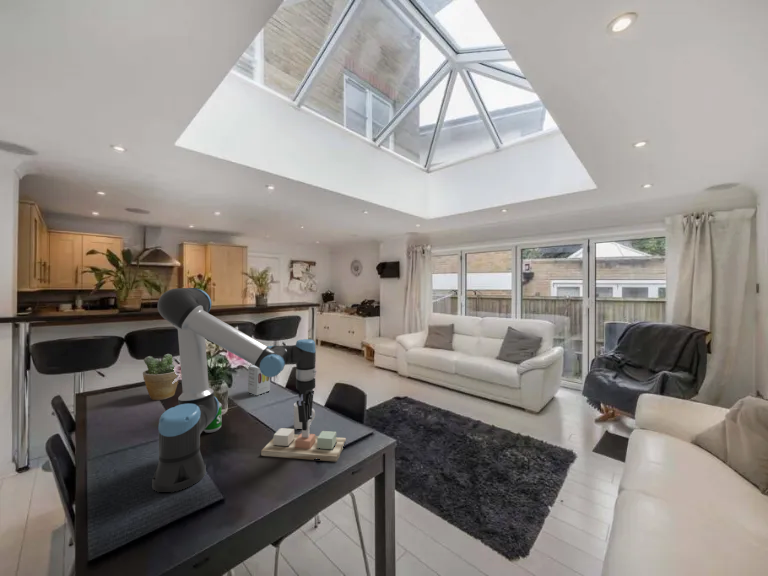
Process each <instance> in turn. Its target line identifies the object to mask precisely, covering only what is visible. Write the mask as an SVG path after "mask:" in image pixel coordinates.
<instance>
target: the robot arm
mask: <svg viewBox="0 0 768 576" xmlns="http://www.w3.org/2000/svg"><path fill="white" fill-rule="evenodd" d="M211 308H212V299H211V297H210V295H209V294H208V293H207V292H206V291H205V290H202V289H200V288H195V287H187V288H186V287H185V288H184V287H183V288H180V287H179V288H178V287H177V288H171V289H168V290H167V291H165V292H163V293H162V295H161V296H160V297H159V299H158V301H157V311H158V313H159V315H160V316H161V317H162V318H163V319H164V320H166V321H167V322H168V323H170V324H172V326H173V327H174V328H175V329H176V330H177V337H178V339H177V340H178V349H179V360H180V362H179V363H180V364H179V365H180V367H181V375H180V377H181V388H182V392H181V394H180V395H179V396H178V398H177V399H178V405H175V406H174V407H170V408H168V409H167V410H165V411H164V412H163V413H162V414H161V416H160V417H159V420H158V425H157V427H158V462H157V465H156V467H155V471H154V474H153V477H152V480H151V488H152V490H153V491H154V490H155V491H154V492H156V491H157V492H156V493H159V492H171V493H174V492H173V491H176V492H179V491H178V490H180V491H183V490H186V489H188V488H190V487H192V486H194V485H195V483H196V484H197V483H198V482H199V483H200V481H201V480H202V479H203V478H204V477H205V475H206V470H207V469H206V468H207V467H206V462H205V461H204V460H203V456H202V453H201V447H200V446H201V434H202V433H203V432H204V431H203V430H204V429H205V428H206V427H207V426H208V425H209V424H210V423H211V422H212V421H213V420H214V419H215V417H216V415H217V413H218V410H219V402H220V401H219V400H218V398H217V397H216V396H215V393H214V389H213V388H211V387H210V386H209V372H208V359H207V347H206V340H208V341H209V342H211V343H214V344H215V345H216V346H218V347H221V348H222V349H224V350H226V351H227V352H230V353H231V354H233V355H235V356H237V357H238V358H240V359H242V360H245V362H248V363H249V364H251V365H255V366H256V367H258V368H260V371H261V373H262V374H263V375H264V376H267V377H270V378H273V377H277V376H279V374H280V373H281V372H282V371H283V370H284V368H285V366H287V365H290V366H291V365H295V378H296V379H295V387H296V390H298V391H299V396H298V398H299V400H296V402H297V406H298V414H299V422H302V430H301V433H302V437H304V438H308V437H309V436H310V434H311V433H310V430H311V429H310V428H311V426H310V420H309V419H312V416H313V413H312V408H313V401H314V394H315V390H313V389H315V388H316V374H317V370H316V342H315V341H314V339H309V338H304V339H299V340H298V339H297V340H296V342H295V344H294V345H293V344H291V345H275V344H274V345H268V346H267V345H265V344H264V343H262V342H260V341H258V340H256V339H255V338H253V337H252V336H250V335H248V334H246V333H244V332H243V331H241V330H239V329H237V328H235V327H234V326H232V325H230V324H229V323H226V322H224V321H223V320H221V319H220V318H218V317H216V316H214V315H212V314H210V313H209V312H210V310H211ZM218 401H219V402H218ZM310 416H311V417H310ZM193 484H194V485H193ZM191 485H192V486H191ZM189 486H190V487H189ZM187 487H188V488H187ZM185 488H186V489H185ZM182 489H183V490H182Z"/></svg>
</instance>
